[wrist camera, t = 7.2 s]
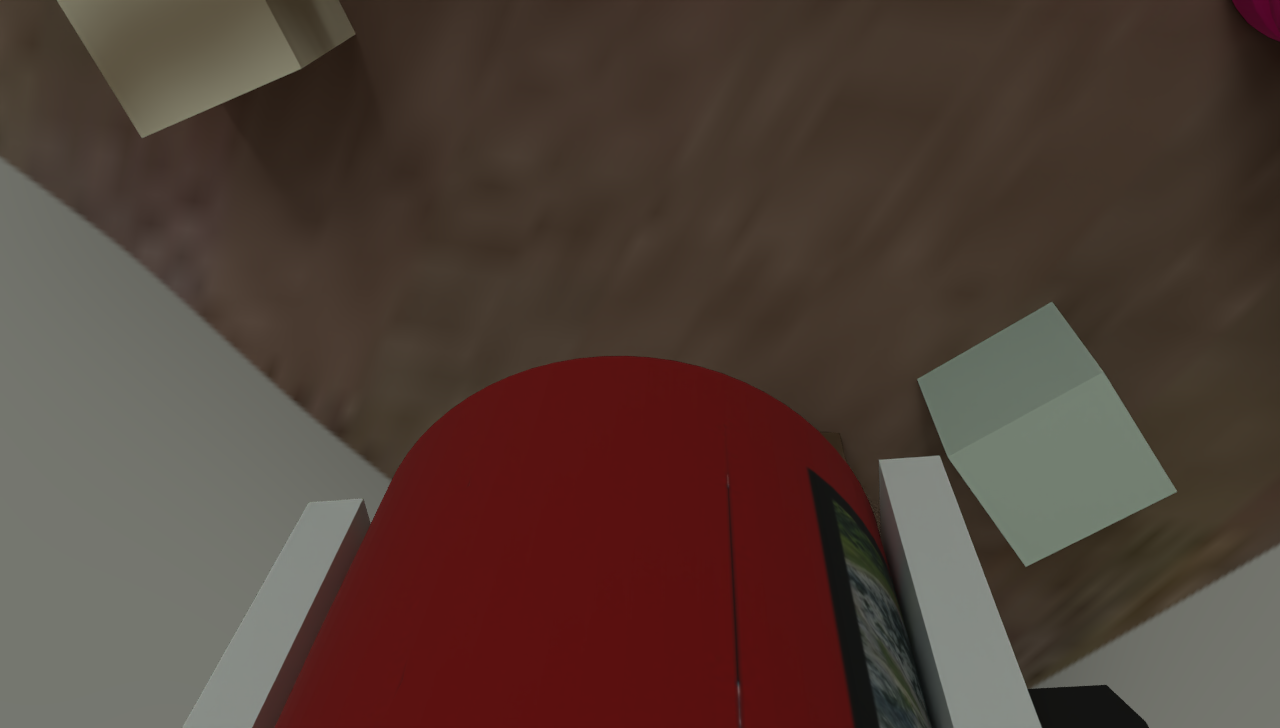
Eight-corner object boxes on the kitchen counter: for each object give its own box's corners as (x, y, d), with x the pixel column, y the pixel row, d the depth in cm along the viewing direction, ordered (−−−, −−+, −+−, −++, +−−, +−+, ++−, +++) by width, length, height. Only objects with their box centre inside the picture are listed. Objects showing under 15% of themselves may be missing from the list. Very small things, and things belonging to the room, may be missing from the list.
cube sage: (916, 378, 36) (947, 457, 32) (1051, 300, 35) (1103, 372, 30) (987, 479, 38) (1025, 567, 34) (1118, 409, 37) (1177, 491, 32)
